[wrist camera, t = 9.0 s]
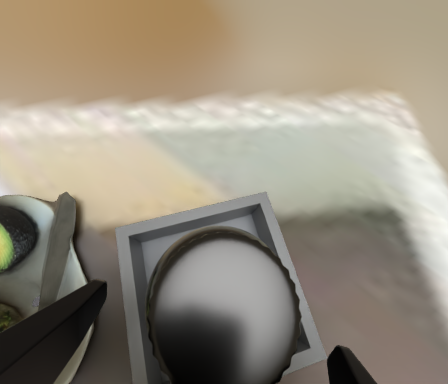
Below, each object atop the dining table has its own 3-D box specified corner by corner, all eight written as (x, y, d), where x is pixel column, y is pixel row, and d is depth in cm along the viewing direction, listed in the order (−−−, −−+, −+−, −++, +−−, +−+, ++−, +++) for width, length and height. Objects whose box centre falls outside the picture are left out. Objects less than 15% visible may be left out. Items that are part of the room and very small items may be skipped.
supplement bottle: (232, 232, 19) (271, 174, 8) (270, 309, 18) (386, 369, 6) (158, 267, 18) (83, 253, 7) (190, 356, 16) (159, 544, 5)
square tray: (154, 396, 15) (138, 434, 12) (132, 237, 19) (115, 228, 15) (300, 340, 17) (327, 358, 14) (255, 206, 21) (266, 191, 17)
